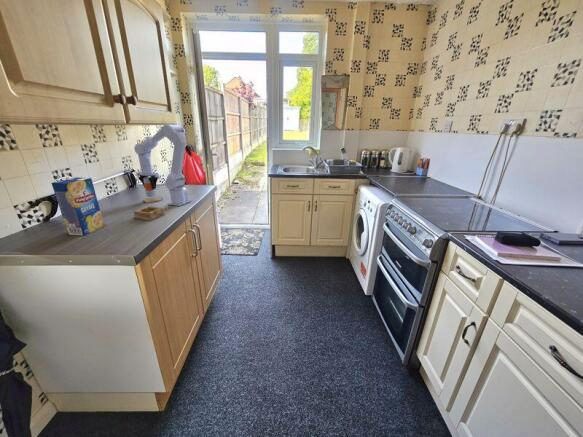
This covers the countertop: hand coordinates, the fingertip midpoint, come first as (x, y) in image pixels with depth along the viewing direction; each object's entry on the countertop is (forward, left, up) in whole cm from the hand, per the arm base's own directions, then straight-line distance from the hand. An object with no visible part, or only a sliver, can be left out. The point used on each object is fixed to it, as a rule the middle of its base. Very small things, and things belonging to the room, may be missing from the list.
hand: (150, 188), depth 147 cm
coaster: (0, 0, -8) cm, 8 cm away
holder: (+22, +21, -8) cm, 31 cm away
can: (0, 0, -5) cm, 5 cm away
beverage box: (+45, +9, -8) cm, 47 cm away
